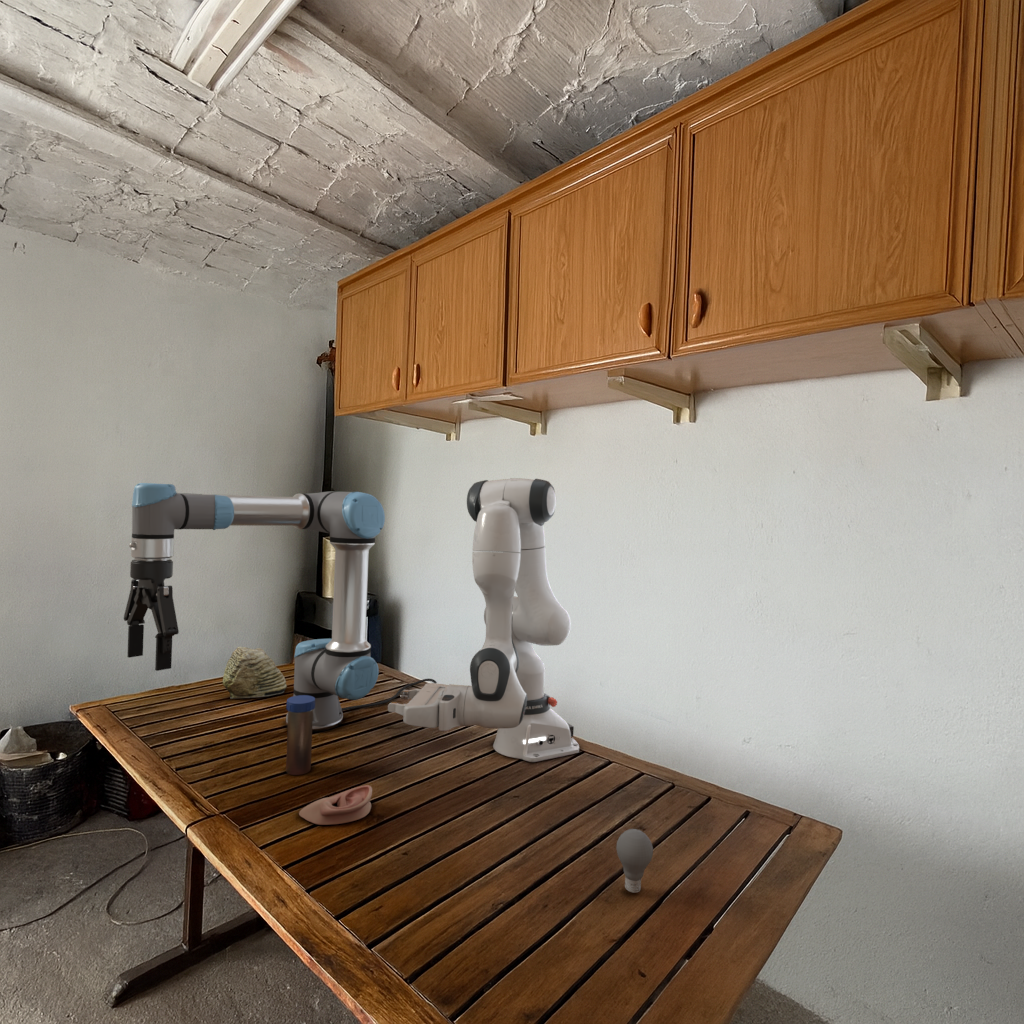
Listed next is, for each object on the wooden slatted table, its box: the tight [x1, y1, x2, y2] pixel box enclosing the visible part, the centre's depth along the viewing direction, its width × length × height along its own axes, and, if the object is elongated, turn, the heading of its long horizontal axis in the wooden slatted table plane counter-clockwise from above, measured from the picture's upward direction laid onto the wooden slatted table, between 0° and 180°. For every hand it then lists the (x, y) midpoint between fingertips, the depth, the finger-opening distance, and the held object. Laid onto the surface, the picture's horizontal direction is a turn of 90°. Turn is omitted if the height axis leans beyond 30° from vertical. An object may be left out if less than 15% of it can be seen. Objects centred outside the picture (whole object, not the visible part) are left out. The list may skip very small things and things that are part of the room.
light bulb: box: [615, 828, 654, 894], centre depth 106 cm, size 6×6×10 cm
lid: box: [285, 695, 315, 713], centre depth 146 cm, size 6×6×2 cm
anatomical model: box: [298, 784, 373, 826], centre depth 127 cm, size 13×4×12 cm
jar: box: [285, 710, 313, 776], centre depth 146 cm, size 5×5×16 cm
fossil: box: [222, 646, 288, 699], centre depth 198 cm, size 9×18×15 cm, turn 132°
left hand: (148, 662), depth 129 cm, fingers open, 13 cm apart
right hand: (395, 700), depth 144 cm, fingers open, 8 cm apart
